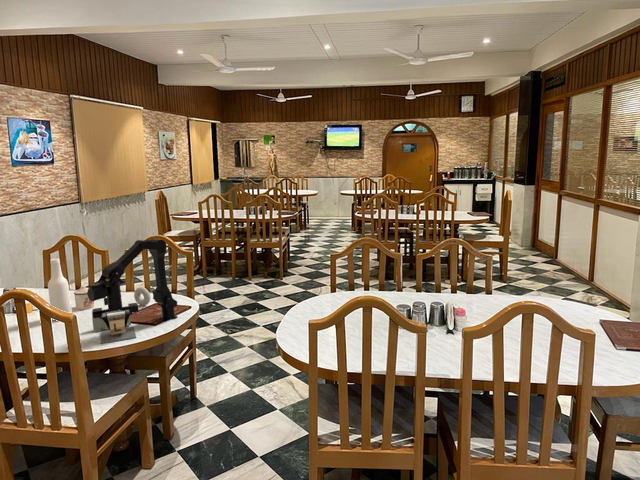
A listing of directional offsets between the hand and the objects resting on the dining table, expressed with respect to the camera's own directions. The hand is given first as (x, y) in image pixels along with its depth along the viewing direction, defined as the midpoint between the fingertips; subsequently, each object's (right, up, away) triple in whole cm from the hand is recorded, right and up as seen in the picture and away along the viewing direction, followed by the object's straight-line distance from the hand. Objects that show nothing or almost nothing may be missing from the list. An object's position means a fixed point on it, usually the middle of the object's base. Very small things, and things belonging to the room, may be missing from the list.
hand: (117, 328), depth 212 cm
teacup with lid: (-34, +4, +41) cm, 53 cm away
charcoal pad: (0, -3, +1) cm, 3 cm away
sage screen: (-7, -1, +11) cm, 13 cm away
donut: (-4, +4, +41) cm, 41 cm away
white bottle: (-38, +1, +25) cm, 45 cm away
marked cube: (0, -1, 0) cm, 1 cm away
